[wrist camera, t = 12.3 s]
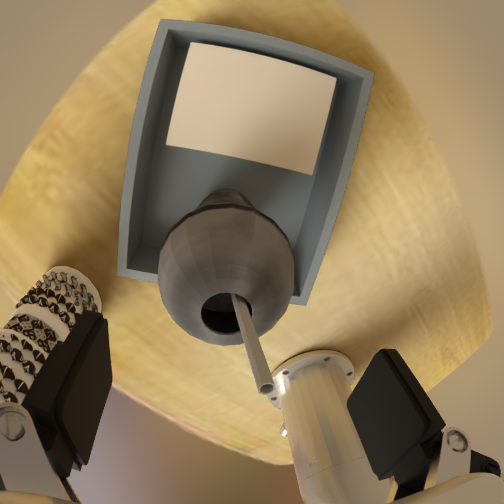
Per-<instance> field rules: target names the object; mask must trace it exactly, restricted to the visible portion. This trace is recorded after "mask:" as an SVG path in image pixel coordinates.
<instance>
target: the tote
mask: <svg viewBox="0 0 504 504" xmlns="http://www.w3.org/2000/svg"><path fill="white" fill-rule="evenodd" d="M191 42H194V43H201V44H208V45H214V46H220V47H226V48H231V49H236V50H241V51H246V52H250V53H255V54H259V55H263V56H267V57H271V58H275V59H279V60H282V61H286V62H289V63H293V64H296V65H299V66H303V67H306V68H309V69H312V70H315V71H318V72H321V73H324V74H327V75H329V76H332V77H335V78H337V80H336V84H335V89H334V93H333V97H332V101H331V105H330V109H329V113H328V117H327V121H326V125H325V129H324V133H323V137H322V140H321V144H320V148H319V152H318V156H317V159H316V163H315V167H314V170H313V174H312V175H309V174H305V173H301V172H297V171H294V170H290V169H286V168H281V167H277V166H273V165H269V164H265V163H260V162H256V161H251V160H247V159H242V158H237V157H232V156H227V155H222V154H217V153H212V152H206V151H201V150H195V149H189V148H183V147H177V146H170V145H166V141H167V136H168V131H169V127H170V122H171V117H172V113H173V108H174V104H175V100H176V96H177V92H178V88H179V84H180V80H181V76H182V72H183V68H184V65H185V61H186V58H187V54H188V51H189V47H190V44H191ZM373 78H374V73H373V72H371V71H369V70H367V69H365V68H362V67H360V66H358V65H355V64H353V63H351V62H348V61H346V60H343V59H341V58H338V57H336V56H333V55H330V54H328V53H325V52H322V51H319V50H316V49H313V48H310V47H307V46H304V45H301V44H298V43H294V42H291V41H288V40H284V39H281V38H277V37H273V36H269V35H265V34H261V33H257V32H252V31H248V30H243V29H238V28H233V27H227V26H221V25H215V24H208V23H201V22H193V21H183V20H171V19H161V20H160V22H159V25H158V28H157V31H156V34H155V38H154V41H153V44H152V47H151V51H150V54H149V57H148V61H147V65H146V68H145V72H144V76H143V80H142V84H141V88H140V92H139V96H138V101H137V105H136V110H135V115H134V120H133V125H132V130H131V135H130V141H129V147H128V153H127V160H126V167H125V174H124V182H123V191H122V200H121V210H120V222H119V237H118V258H117V276H122V277H127V278H132V279H137V280H142V281H148V282H153V283H158V261H159V254H160V247H161V245H162V243H163V241H164V239H165V238H166V236H167V234H168V232H169V230H170V229H171V228H172V227H173V226H174V225H175V224H176V223H177V222H178V221H179V220H181V219H182V218H183V217H184V216H185V215H186V214H188V213H190V212H192V211H195V209H196V208H197V207H198V206H199V204H200V203H201V202H202V201H203V200H204V199H205V198H206V197H207V196H208V195H210V194H211V193H212V192H214V191H217V190H219V189H232V190H236V191H238V192H239V193H241V194H243V195H244V196H245V197H246V198H247V199H248V200H249V201H250V202H251V204H252V205H253V206H254V207H255V209H257V210H258V211H260V212H262V213H263V214H265V215H266V216H268V217H270V218H271V219H273V220H274V221H275V222H276V223H277V224H278V226H279V227H280V228H281V229H282V231H283V232H284V233H285V234H286V236H287V237H288V240H289V242H290V245H291V248H292V251H293V254H294V291H293V294H292V297H291V299H290V302H289V304H296V305H304V306H306V304H307V301H308V299H309V296H310V293H311V291H312V288H313V285H314V282H315V280H316V277H317V274H318V271H319V268H320V266H321V263H322V260H323V257H324V254H325V251H326V248H327V245H328V242H329V239H330V236H331V233H332V230H333V227H334V224H335V221H336V218H337V214H338V211H339V208H340V205H341V201H342V198H343V195H344V192H345V188H346V185H347V181H348V178H349V174H350V171H351V167H352V164H353V160H354V156H355V153H356V149H357V145H358V142H359V138H360V134H361V130H362V126H363V122H364V118H365V114H366V109H367V105H368V101H369V96H370V92H371V88H372V83H373Z"/></svg>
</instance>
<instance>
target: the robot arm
mask: <svg viewBox="0 0 504 504" xmlns="http://www.w3.org/2000/svg"><path fill="white" fill-rule="evenodd" d="M271 375H272V378H273V381H274V384H275V390H274V391H273V392H272V393H270V394H267V397H268V400H269V402H270V403H271V404H272V405H273V406H274V407H276V408H278V409H280V410H282V413H283V418H284V423H283V425H282V427H281V429H280V433H281V435H283V436H288V440H289V444H290V449H291V453H292V457H293V462H294V466H295V471H296V475H297V479H298V484H299V488H300V492H301V496H302V499H303V501H304V503H305V504H504V474H503V473H502V474H501V470H500V466H499V464H498V463H497V462H496V461H495V460H493V459H492V458H489V457H487V456H485V455H482V454H480V453H478V452H475V451H473V450H471V442H470V439H469V437H468V436H467V435H466V433H465V432H464V431H462V430H461V429H459V428H455V427H450V428H448V429H446V430H445V431H444V432H443V433H442V432H441V430H442V429H443V428H444V427H445V425H446V424H445V422H444V421H443V419H442V417H441V416H440V414H439V413H438V411H437V410H436V408H435V406H434V405H433V403H432V402H431V400H430V399H429V397H428V396H427V394H426V393H425V391H424V389H423V388H422V386H421V385H420V383H419V382H418V380H417V379H416V378H415V376H414V375H413V373H412V372H411V370H410V369H409V367H408V366H407V364H406V363H405V361H404V360H403V359H402V357H401V356H400V354H399V353H398V351H397V350H395V349H381V350H379V352H378V353H376V354H375V355H374V357H373V359H372V360H371V362H370V364H369V366H368V367H367V369H366V371H365V372H364V374H363V376H362V377H361V379H360V380H359V382H358V384H357V385H356V387H355V388H354V390H353V391H352V389H351V387H350V386H351V384H352V382H353V379H354V376H355V370H354V367H353V364H352V363H351V361H350V359H349V358H348V357H347V356H346V355H344V354H342V353H340V352H336V351H332V350H317V351H312V352H307V353H304V354H301V355H298V356H296V357H294V358H292V359H289V360H288V361H286V362H285V363H283V364H282V365H280V366H279V367H278V368H277V369H276V370H275V371H274V372H273V373H272V374H271ZM111 385H112V368H111V358H110V347H109V334H108V321H107V319H104V318H103V315H102V313H99V312H95V311H91V310H87V309H86V310H84V311H83V312H82V314H81V315H80V317H79V318H78V320H77V322H76V323H75V325H74V326H73V328H72V329H71V331H70V333H69V334H68V336H67V337H66V339H65V341H64V342H63V344H61V343H57V344H56V345H55V346H54V347H53V349H52V350H51V352H50V354H49V355H48V357H47V359H46V360H45V362H44V364H43V365H42V367H41V369H40V370H39V372H38V374H37V376H36V377H35V379H34V381H33V383H32V385H31V386H30V388H29V390H28V392H27V394H26V396H25V398H24V399H23V401H22V403H21V405H19V404H17V403H13V402H3V403H0V504H82V503H81V501H80V499H79V498H78V496H77V494H76V493H75V491H74V489H73V487H72V485H71V484H70V482H69V480H68V478H67V477H69V476H70V472H71V469H75V470H78V471H81V467H82V464H83V465H87V464H88V461H89V458H90V454H91V450H92V446H93V443H94V440H95V436H96V432H97V429H98V426H99V422H100V419H101V416H102V412H103V410H104V406H105V403H106V400H107V397H108V394H109V391H110V388H111ZM393 475H394V477H395V480H394V482H392V480H391V478H390V477H391V476H393Z"/></svg>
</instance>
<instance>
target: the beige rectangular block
mask: <svg viewBox="0 0 504 504" xmlns="http://www.w3.org/2000/svg"><path fill="white" fill-rule="evenodd" d="M336 80H337V78H335V77H332V76H329V75H327V74H324V73H321V72H318V71H315V70H312V69H309V68H306V67H303V66H299V65H296V64H293V63H289V62H286V61H282V60H279V59H275V58H271V57H267V56H263V55H259V54H255V53H250V52H246V51H241V50H236V49H231V48H226V47H220V46H214V45H208V44H201V43H194V42H191V44H190V47H189V51H188V54H187V58H186V61H185V65H184V68H183V72H182V76H181V80H180V84H179V88H178V92H177V96H176V100H175V104H174V108H173V113H172V117H171V122H170V127H169V131H168V136H167V141H166V145H170V146H177V147H183V148H189V149H195V150H201V151H206V152H212V153H217V154H222V155H227V156H232V157H237V158H242V159H247V160H251V161H256V162H260V163H265V164H269V165H273V166H277V167H281V168H286V169H290V170H294V171H297V172H301V173H305V174H309V175H312V174H313V170H314V167H315V163H316V159H317V156H318V152H319V148H320V144H321V140H322V137H323V133H324V129H325V125H326V121H327V117H328V113H329V109H330V105H331V101H332V97H333V93H334V89H335V84H336Z"/></svg>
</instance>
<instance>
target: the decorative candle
mask: <svg viewBox="0 0 504 504" xmlns="http://www.w3.org/2000/svg"><path fill="white" fill-rule="evenodd" d="M36 286H37V288H36V289H35V288H34V287H32V288H31V290H29V291H28V293H27V295H25V296H24V297H23V298H22V299H21V300H20V303H18V304H17V305H16V310H15V311H14V312H13V314H12V315H11V316H10V318H9V322H8V323H7V324H6V325H5V327H4V328H0V403H3V402H13V403H17V404H19V405H21V403H22V401H23V399H24V398H25V396H26V394H27V392H28V390H29V388H30V386H31V385H32V383H33V381H34V379H35V377H36V376H37V374H38V372H39V370H40V369H41V367H42V365H43V364H44V362H45V360H46V359H47V357H48V355H49V354H50V352H51V350H52V349H53V347H54V346H55V345H56V344H57V343H61V344H63V342H64V341H65V339H66V337H67V336H68V334H69V333H70V331H71V329H72V328H73V326H74V325H75V323H76V322H77V320H78V318H79V317H80V315H81V314H82V312H83V311H84V310H86V309H87V310H91V311H95V312H99V313H101V308H102V302H101V299H100V296H99V293H98V290H97V289H96V288H95V286H94V285H93V283H92V282H91V281H90V279H89V278H87V277H86V276H85V275H84V274H82V273H81V272H80V271H79V270H76V269H74V268H71V267H68V266H55V267H53V268H52V269H50V270H49V271H48V272H46V273H45V274H44V275H43V280H42V282H41V281H40V280H39V281H37V282H36Z"/></svg>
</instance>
